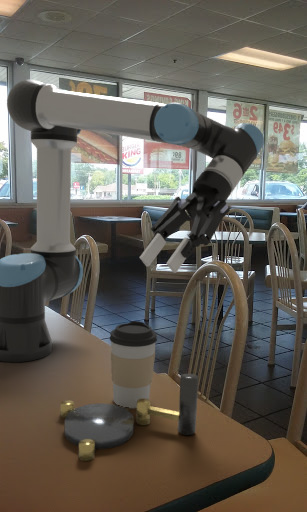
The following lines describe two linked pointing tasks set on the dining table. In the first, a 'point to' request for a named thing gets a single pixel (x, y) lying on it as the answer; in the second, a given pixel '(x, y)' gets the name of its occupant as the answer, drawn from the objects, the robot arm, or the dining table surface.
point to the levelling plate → (96, 426)
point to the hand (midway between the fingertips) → (157, 264)
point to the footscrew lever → (186, 407)
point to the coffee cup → (132, 362)
